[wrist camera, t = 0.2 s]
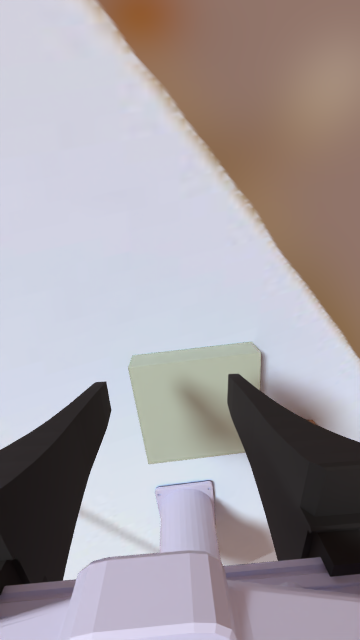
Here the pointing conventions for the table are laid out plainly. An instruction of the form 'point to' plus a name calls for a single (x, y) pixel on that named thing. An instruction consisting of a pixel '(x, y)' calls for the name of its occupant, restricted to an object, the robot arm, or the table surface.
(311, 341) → the table surface
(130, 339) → the table surface
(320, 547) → the robot arm
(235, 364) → the stand
